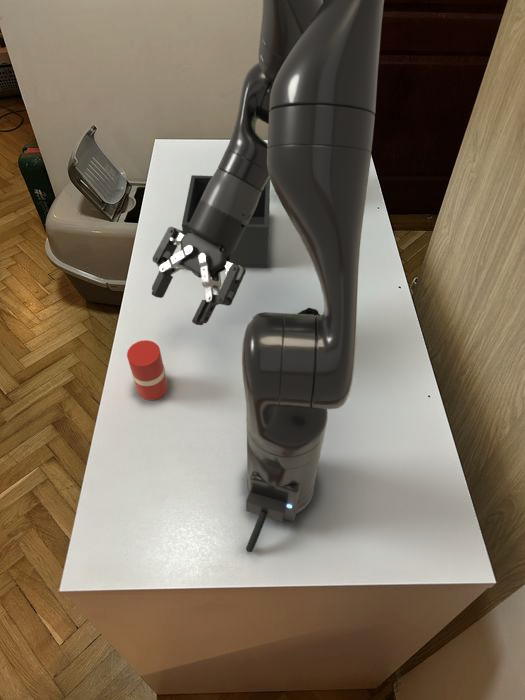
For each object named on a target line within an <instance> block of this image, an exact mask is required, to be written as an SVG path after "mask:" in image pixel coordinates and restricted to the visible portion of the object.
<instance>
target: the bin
mask: <svg viewBox="0 0 525 700" xmlns="http://www.w3.org/2000/svg"><path fill="white" fill-rule="evenodd" d="M212 177H213V175H196V174H195V175H194V174H192V175H191V177H190V181H189V186H188V192H187V197H186V201H185V207H184V212H183V217H182V221H181V229H182V230H181V231H183V234H184V235H185V234H186V233H187V232H188V230H189V223H190V221H191V218H192V216H193V214H194V212H195V210H196V208H197V206H198V204H199V202H200V199H201V197H202V195H203V193H204V191H205V189H206V187H207V185H208V183H209V181H210V180H211V178H212ZM270 200H271V179H270V177H269V179H268V181H267V183H266V185H265V187H264V189H263V191H262V193H261V196H260V198H259V201H258V204H257V207H256V209H255V211H254V213H253V215H252V218H251V220H250V221H249V223H248V225H247V227H246V229H245V231H244V233H243V235H242V237H241V239H240V241H239V243H238V245H237V247H236V249H235V250H234V251H233V252H232V254H231V256H230V262H231V263H233V264H236V265H239V266H242V267H244V268H256V269H257V268H259V269H260V268H261V269H267V268H268V261H269V260H268V259H269V233H270V206H271V205H270V204H271V203H270V202H271V201H270Z"/></svg>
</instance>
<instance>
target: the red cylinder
mask: <svg viewBox="0 0 525 700" xmlns="http://www.w3.org/2000/svg"><path fill="white" fill-rule="evenodd" d="M126 357H127V361H128V364H129V369H130V371H131V375H132V379H133V381H134V384H135V388H136V391H137V394H138V395H139V396H140V398H142V399H143V400H146V401H155V400H158V399H161V398H162V397H164V396H165V394H166V393H167V391H168V388H169V385H168V381H167V375H166V369H165V365H164V363H163V358H162V353H161V349H160V346H159V345H158V343H156V342H155V341H153V340H148V339H147V340H146V339H145V340H138V341H136V342H135V343H133V344H131V345H130V346H129V348H128V349H127V353H126Z"/></svg>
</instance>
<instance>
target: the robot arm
mask: <svg viewBox="0 0 525 700" xmlns="http://www.w3.org/2000/svg"><path fill="white" fill-rule="evenodd" d="M384 4H385V0H262V15H261V23H260V24H261V25H260V33H259V34H260V35H259V43H258V44H259V45H258V53H257V55H258V59H257V60H258V62H257V63H255V64H254V65H252V66H251V68H249V70H248V72H246V75H245V77H244V78H243V84H242V86H241V91H240V97H239V104H238V110H237V114H236V120H235V123H234V127H233V131H232V134H231V137H230V140H229V143H228V145H227V147H226V149H225V151H224V153H223V155H222V157H221V160H220V162H219V164H218V166H217V168H216V170H215V172H214V174H213V175H212V176H213V177H212V178H211V180H210V181H209V183H208V185H207V187H206V189H205V191H204V193H203V195H202V197H201V199H200V202H199V204H198V206H197V208H196V210H195V212H194V214H193V216H192V218H191V221H190V223H189V230H188V232H187V233H186V234H185V235H184V234H183V230H181V229H178V228H176V227H174V226H169V227H168V228H167V230H166V231H165V234H164V235H163V237H162V239H161V241H160V243H159V245H158V246H157V248H156V250H155V252H154V254H153V256H152V262H153V263H155V264H156V266H157V267H158V274H157V275H156V277H155V280H154V281H153V283H152V287H151V295H152V296H153V297H155V298H160V299H163V298H164V297H165V295H166V292H167V290H168V289H169V286H170V285H171V282H172V280H173V279H174V276H173V275H174V274H176V273H178V272H179V271H181V270H187V271H190V272H191V273H193V275H194V276H196V277H197V278H200V279H201V285H202V287H203V290H204V299H202V300H201V301H200V304H199V306H198V307H197V310H196V312H195V314H194V315H193V318H192V320H191V322H192V323H193V324H194V325H196V326H204V324H207V323H208V322H209V320H210V319H211V317H212V315H213V313H214V311H215V308H216V307H217V306H219V305H223V306H229V307H230V306H231V305H232V304H233V302H234V299H235V297H236V295H237V293H238V290H239V288H240V286H241V283H242V282H243V279H244V278H245V277H244V276H245V274H246V271H247V270H246V267H242V266H239V265H236V264H233V263H231V262H230V256H231V254H232V252H233V251H234V250H235V249H236V247H237V245H238V243H239V241H240V239H241V237H242V235H243V233H244V231H245V229H246V227H247V225H248V223H249V221H250V220H251V218H252V215H253V213H254V211H255V209H256V207H257V204H258V201H259V198H260V196H261V193H262V191H263V189H264V187H265V185H266V183H267V181H268V179H269V178H270V183H271V185H272V187H273V189H274V191H275V194H276V196H277V198H278V199H279V202H280V203H281V205H282V207H283V209H284V210H285V213H286V214H287V217H288V218H289V220H290V221H291V224H292V225H293V227H294V229H295V230H296V232H297V234H298V236H299V237H300V239H301V241H302V243H303V245H304V247H305V249H306V252H307V254H308V256H309V259H310V262H311V263H312V265H313V268H314V271H315V273H316V276H317V278H318V281H319V285H320V289H321V292H322V297H323V313H322V314H320V315H316V316H315V315H307V314H298V313H291V312H285V313H284V312H269V311H268V312H267V311H265V312H259V313H257V314H255V315H253V317H251V319H250V320H249V323H248V324H247V326H246V328H245V330H244V331H245V332H244V336H243V341H242V351H241V367H242V368H241V369H242V380H243V388H244V395H245V407H246V408H245V409H246V418H245V420H246V422H245V423H246V468H247V479H246V488H247V493H248V495H247V498H246V501H245V507H246V509H245V511H246V512H248V513H251V514H254V515H255V514H256V515H258V517H257V519H256V522H255V525H254V527H253V530H252V532H251V535H250V537H249V540H248V543H247V544H246V546H245V551H247V552H248V553H253V552H254V549H255V546H256V545H257V542H258V540H259V537H260V534H261V532H262V530H263V527H264V524H265V522H266V519H267V518H268V519H272V520H275V521H279V522H283V520H286V521H290V522H294V521H295V519H296V515H297V514H299V513H301V512H302V511H303V510H305V509H306V508H307V506H308V505H309V504H310V503H311V500H312V498H313V495H314V491H315V487H316V486H315V483H316V478H317V474H318V473H317V472H318V468H319V463H320V458H321V454H322V449H323V443H324V439H325V435H326V429H327V425H328V421H329V419H328V418H329V413H328V411H329V410H337V409H340V408H342V407H343V406H344V405H345V404H346V403H347V400H348V398H349V397H350V393H351V390H352V386H353V380H354V372H355V362H356V361H355V359H356V344H357V343H356V341H357V318H358V317H357V316H358V315H357V314H358V293H359V291H358V290H359V289H358V287H359V269H360V268H359V264H360V252H361V251H360V250H361V241H362V231H363V224H364V223H363V222H364V214H365V207H366V198H367V190H368V183H369V175H370V174H369V173H370V167H371V159H372V151H373V140H374V129H375V120H376V116H375V115H376V110H377V108H376V107H377V94H378V93H377V92H378V77H379V76H378V75H379V64H380V63H379V61H380V51H381V40H382V39H381V36H382V27H383V26H382V24H383V15H384V14H383V13H384ZM258 120H260V121H261V122H263V123H265V124H267V125H268V127H267V142H266V141H265V139H263V138H262V137H260V135H258V133H257V131H256V125H257V121H258ZM178 246H180V250H179V251H178V252H177V253H175V252H176V250H177V248H178ZM223 271H224V275H225V277H224V280H223V283H222V277H221V273H222V272H223Z"/></svg>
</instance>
